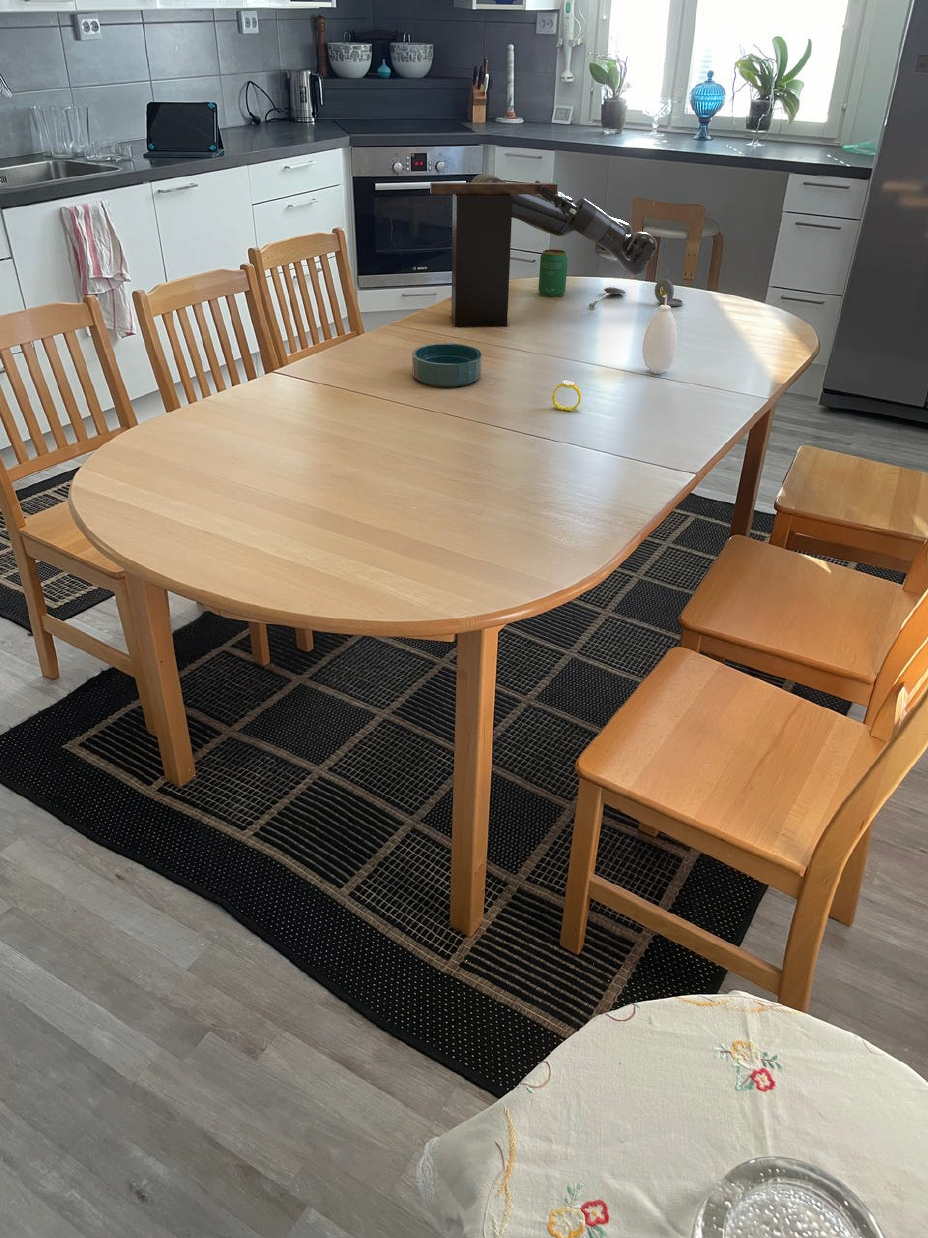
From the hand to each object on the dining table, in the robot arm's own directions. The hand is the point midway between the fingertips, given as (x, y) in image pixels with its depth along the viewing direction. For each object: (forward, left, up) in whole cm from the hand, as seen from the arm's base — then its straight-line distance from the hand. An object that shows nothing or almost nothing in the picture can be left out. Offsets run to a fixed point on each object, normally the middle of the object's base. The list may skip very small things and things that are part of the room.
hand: (537, 186), depth 238 cm
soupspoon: (+2, +33, -34) cm, 47 cm away
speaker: (-9, -11, -34) cm, 37 cm away
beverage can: (-14, +28, -34) cm, 46 cm away
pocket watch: (+17, +43, -34) cm, 57 cm away
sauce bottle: (+49, -12, -34) cm, 61 cm away
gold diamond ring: (+49, -47, -34) cm, 76 cm away
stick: (-7, -8, 0) cm, 11 cm away
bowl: (+17, -50, -34) cm, 63 cm away
